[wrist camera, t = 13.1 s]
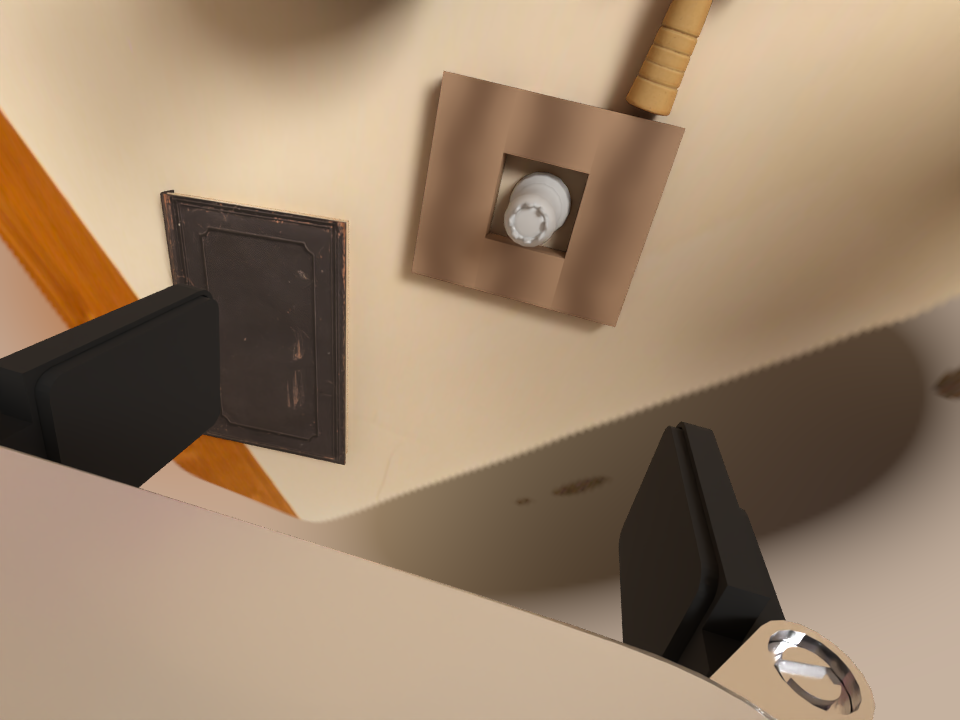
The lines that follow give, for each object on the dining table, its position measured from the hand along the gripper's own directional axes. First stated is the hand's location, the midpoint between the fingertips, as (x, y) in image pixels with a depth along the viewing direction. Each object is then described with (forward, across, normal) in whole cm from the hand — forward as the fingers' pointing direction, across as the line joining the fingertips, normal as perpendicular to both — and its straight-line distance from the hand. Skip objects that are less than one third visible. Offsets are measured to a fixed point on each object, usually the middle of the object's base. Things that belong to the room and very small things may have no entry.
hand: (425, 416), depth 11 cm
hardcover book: (+33, +22, +18) cm, 43 cm away
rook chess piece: (+32, 0, +1) cm, 32 cm away
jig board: (+32, +1, +1) cm, 32 cm away
